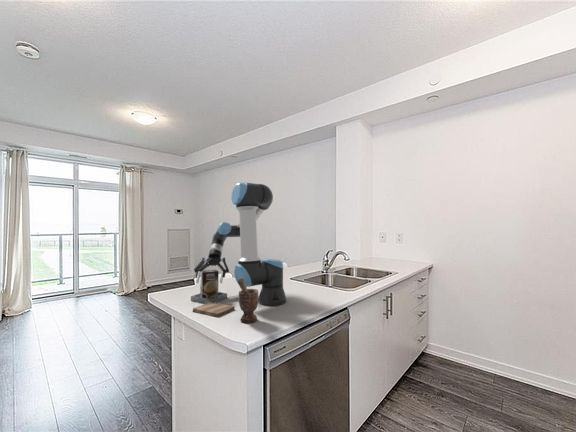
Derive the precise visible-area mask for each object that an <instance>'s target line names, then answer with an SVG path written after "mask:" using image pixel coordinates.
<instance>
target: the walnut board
mask: <svg viewBox="0 0 576 432" xmlns="http://www.w3.org/2000/svg"><path fill="white" fill-rule="evenodd" d="M234 310H235V306H234V305H228V304H225V303H219V302H218V303H217V302H215V303H214V302H209V303H207V304H204V303H203V304H201V305H198V306H196V307H193V308H192V312H193V313H199V314H202V315H207V316H211V317H216V318H219V317H221V316H223V315H225V314H228V313H229V312H230V313H231V312H232V311H234Z"/></svg>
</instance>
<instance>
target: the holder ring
mask: <svg viewBox="0 0 576 432" xmlns="http://www.w3.org/2000/svg"><path fill="white" fill-rule="evenodd" d="M227 298H228V293H226V292H221V291H218V296H217V297H214V298H211V299H207V298H201V297H200V293H197V294H194V295H191V296H190V301H191V302H195V303H199V304H200V303H201V304H203V305H204V304H207V303H209V302H214V303H217V302H221V301H222V300H225V299H227Z"/></svg>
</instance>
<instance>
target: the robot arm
mask: <svg viewBox="0 0 576 432" xmlns="http://www.w3.org/2000/svg"><path fill="white" fill-rule="evenodd" d="M273 199H274V196H273V191H272V189H270V187H269V186H267V184H266V185H265V184H262V183H252V182H238V183H236V184H234V186H233V188H232V191H231V201H232V204H233V205H235V209H236V210H237V211H238V212H239V213H238V215H239V216H238V217H239V224H238V225H237V224H236V225H233V224H230V223H228V222H226V221H223V222H221V223H220V224H219V226H218V227H217V230H216V231H215V232H214V233H213V235H212V240H211V243H210V245H211V246H210V249H209V252H208V257H207V258H206V257H202V259H201V260H200V262H199V263H198V264H197V265H196V266H195V268H194V269H193V271H194V273H195V278H196V279H195V282H196V284H199V283H200V280H201V271H205V270H206V268H208V267H210V266H211V267H212V266H215V267H216V266H217V267H218V268H219V269H220V270H221V274H220V277H219V282H220V284H223V279H225V278H226V274H227V273H230V270H229V267H228V265H227V263H226V258H225V257H222V253H223V250H224V249H223V248H224V244H225V241H226V240H227V238H239V239H240V242H239V243H240V258H239V259H238V260H237V261H238V262H237V263H238V264H235V266H234V269H233V270H234V271H233V273H234V278H235V281H236V283H237V284H238V280H239V279H241V278H242V279H244V280H245V283H246V288H250V287H255V286H261V290H260V292H259V294H258V304H260V305H262V306H267V307H268V306H269V307H270V306H271V307H272V306H280V305H284V304H285V303H287V296H286V292H285V290H284V265H283V261H282V260H280V259H275V258H262V259H261V258H260V257H259V255H258V233H257V221H258V219H259V218H260V217H261V215H262V214H263V213H264V212H265V211H267V210H269V208H270V207H271V205H272V203H273ZM221 262H222V263H223V265H222V264H221Z"/></svg>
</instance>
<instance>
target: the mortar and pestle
mask: <svg viewBox="0 0 576 432" xmlns="http://www.w3.org/2000/svg"><path fill="white" fill-rule="evenodd" d="M237 284H238V286H239V287H240V290H239V291H238V303H239V304H238V305H239V308H240V310H241V311H242V312H243V314H242V315H241V317H240V319H239V321H240V322H242V323H244V324H253V323H256V322H257V321H258V317H257V315H256V314H255V311H256V310H257V307H258V304H259V290H258V289H256V288H248V287H246V283H245V280H244V279H242V278H241V279H239V280H238V283H237Z"/></svg>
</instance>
